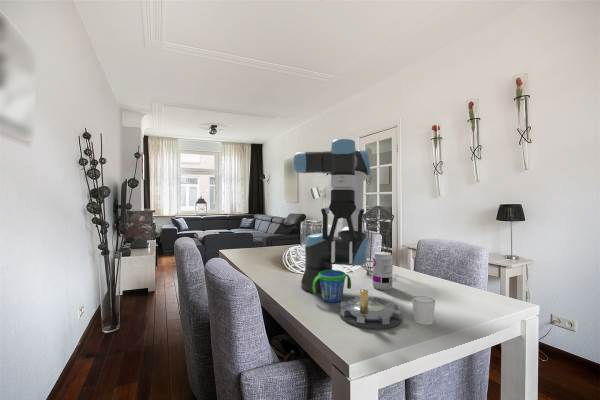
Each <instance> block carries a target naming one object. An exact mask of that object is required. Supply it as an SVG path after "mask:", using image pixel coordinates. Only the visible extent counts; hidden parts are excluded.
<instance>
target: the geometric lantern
mask: <svg viewBox="0 0 600 400" xmlns="http://www.w3.org/2000/svg"><path fill="white" fill-rule="evenodd" d="M371 213H372V214H371ZM375 213H376V215H375ZM379 213H381V215H380V214H379ZM379 217H382V218H379ZM394 218H395V215H394V214H392V213H390V212H389V211H388V210H386V209H385V208H383V207H381V206H380V205H374V206H373V207H372V208H371V209H369V210H368V211H366V212H364V213H363V218H362V230H363V232H364V233H365V234H366V238H368V239H369V238H370V239H369V240H370V248H369V251H370V252H369V260H367V259H368V257H367V258H366V262H365V264H364V265H362V266H361V267H362V268H363V269H364V270H365V271H366V275H367V276H371V274H370V272H371V273H373V266H371V263H373V260H372V245H373V244H372V243H373V235H374V234H375V235H381V238H382V241H381V242H382V244H381V246H382V251H381V252H389V253H391V254H392V252H391V234H390V233H391V232H390V231H391V227H392V224H393V222H394ZM368 219H369V220H368ZM371 221H375V222H374V223H371ZM386 221H389V226H388V227H387V225H386ZM365 223H366V225H367V227H368V229H365ZM381 223H384V226H385V227H386V230H385V229H381V228H380V226H379V225H380V224H381ZM369 225H370V226H369ZM375 226H377V228H378V229H375V231H377V232H373V230H374V229H373V228H375ZM370 231H371V232H370ZM379 232H380V233H379ZM383 232H386V233H383ZM384 235H385V242H384ZM369 236H370V237H369ZM384 243H385V244H384ZM384 245H385V249H386V251H384V250H385V249H384ZM368 263H369V265H368Z"/></svg>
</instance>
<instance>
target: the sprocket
mask: <svg viewBox="0 0 600 400" xmlns="http://www.w3.org/2000/svg"><path fill="white" fill-rule="evenodd" d="M340 308H341V314H342V315H343V316H350V317H352V318H354V319H357V322H359V323H364V324H365V322H376V323H377V322H380V323H381V324H382V325H384V324H389V322H390V320H392V319H393V318H395V319H400V318H401V317H402V311H401V310H399V309H398V308H399V305H398V303H396V302H388V301H385V300H383V299H382V298H381V297H376V296H375V297H372V298H371V297H369V290H368V289H360V290H359V296H353V298H351V299H349V300H345V299H342V300H341V301H340Z"/></svg>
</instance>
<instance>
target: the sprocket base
mask: <svg viewBox="0 0 600 400" xmlns="http://www.w3.org/2000/svg"><path fill="white" fill-rule="evenodd" d="M338 312H339V314H338V315H339V318H340V319H341V320H342V321H343V322H345V323H346V324H348V325H351V326H353V327H356V328H360V329H364V330H365V329H366V330H379V331H380V330H381V331H382V330H389V329H394V328H396V327H398V326H399V325H400V324H402V321H403V320H402V316H401V318H400V319H395V318H393V319H392V320H390V322H389V324H384V325H382V324H381V323H380V322H377V323H376V322H365V324H364V323H359V322H357V319H354V318H352V317H350V316H343V315H342V314H341V307H340V309H339V311H338Z"/></svg>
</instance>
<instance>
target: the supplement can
mask: <svg viewBox="0 0 600 400" xmlns="http://www.w3.org/2000/svg"><path fill="white" fill-rule="evenodd" d="M393 257H394V256H393V255H392V252H391V253H390V251H388V252H386V251H384V252H382V251H375V252H374V253H373V255H372V261H373V262H372V267H373V269H372V271H373V272H372V286H373V288H375V289H377V290H380V291H389V290H391V289H392V288H393V263H394V260H393V259H394V258H393Z"/></svg>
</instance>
